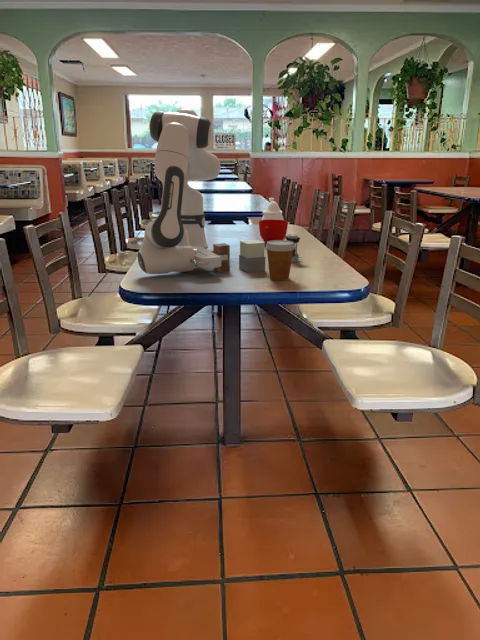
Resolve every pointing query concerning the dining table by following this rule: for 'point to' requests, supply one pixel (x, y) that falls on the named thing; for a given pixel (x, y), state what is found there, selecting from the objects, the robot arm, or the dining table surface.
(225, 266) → the walnut post
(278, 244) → the disposable coffee cup
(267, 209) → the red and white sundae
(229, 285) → the dining table surface
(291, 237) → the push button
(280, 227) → the ceramic cup
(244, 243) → the tower top block
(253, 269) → the tower base block
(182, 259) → the robot arm
